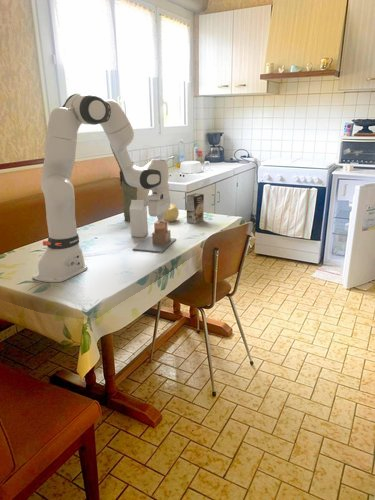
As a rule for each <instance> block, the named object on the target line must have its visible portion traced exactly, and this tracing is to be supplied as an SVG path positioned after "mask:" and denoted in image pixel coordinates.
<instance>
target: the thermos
mask: <svg viewBox="0 0 375 500" xmlns="http://www.w3.org/2000/svg"><path fill="white" fill-rule="evenodd" d="M132 163H133V164H134V165H135V162H134V161H132ZM119 178H120V179H119V180H120V187H121V190H122V193H123V206H124V208H123V217H124V221H125V222H130V205H131V200H138V195H137V193H138V188H136V187H128V186H126V185H125V184H124V182H123V180H122V175H121V170H120V169H119Z"/></svg>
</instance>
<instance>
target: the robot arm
mask: <svg viewBox="0 0 375 500" xmlns="http://www.w3.org/2000/svg"><path fill="white" fill-rule="evenodd" d="M81 125H100V126H101V128H102V129H103V131H104V133H105V135H106V137H107V139H108V141H109V145H110V149H111V151H112V154H113V156H114V159H115V161H116V163H117V164H118V165H117V166H118V167H119V171H120V170H121V175H122V180H123V182H124V184H125V185H126V186H128V187H136V188H137V189H143V190H149V192H148V194H147V195H146V200H147V201H148V202H147V211H148V215H149V217H153V218H156V217H157V221H158V222H161V221H163V217H164V211H166V210H167V209H169V208H170V204H171V196H170V191H169V190H170V189H169V176H170V175H169V166H168V162H167V161H166V160H165V159H160V158H151V159H150V160H149V162H148V163H147V164H145V165H144V166H141V167H140V166H137V165H135V163H134V162H133V161H132V159H131V156H130V155H129V152H128V149H127V147H129V145H130V144H131V143H132V141H133V140H134V137H135V134H134V133H135V132H134V129H133V126H132V124H131V123H130V121H129V118H128V117H127V115H126V113H125V111H124V110H123V108H122V107H121V106H120V105H119V103H118V102H117V101H116V100H114V99H105V100H104V99H103V98H102V97H101V96H99V95H97V94H93V93H92V94H91V93H90V94H89V93H86V92H83V93H74V94H71V95H70V96H68V98H67V99H66V100H65V102H64V104H63V105H62V106H58V107H55V108H53V109H52V110H51V112H50V115H49V119H48V123H47V127H46V137H45V148H44V149H45V151H44V159H43V166H42V172H41V180H40V188H41V191H42V193H43V197H44V203H45V204H44V205H45V213H46V216H45V218H46V225H47V231H48V237H47V240H43V241H42V246H44V247H45V246H46V247H47V248H46V249H45V251H44V253H43V255H42V256H41V258H40V259H39V261H38V265H37V269H38V270H37V272H35V273H34V274H33V275H32V278H33V279H34V280H35V281H39V282H45V283H46V282H47V283H60V282H64V281H66V280H68V279H70V278H73V277H74V276H76V275H78V274H80V273H82V272H84V271H86V270H88V266H87V265H86V263H85V258H84V254H83V250H82V248H81V246H80V244H79V243H80V236H79V233H78V229H77V221H76V200H75V199H76V198H75V197H76V195H75V188H74V185H73V183H72V181H71V177H72V172H73V169H74V165H75V161H76V152H77V143H78V132H79V129H80V127H81ZM132 162H133V163H134V164H133V163H132Z"/></svg>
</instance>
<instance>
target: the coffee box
mask: <svg viewBox="0 0 375 500" xmlns="http://www.w3.org/2000/svg"><path fill="white" fill-rule="evenodd" d="M204 196H205V195H204V193H203V194H202V193H192V194H189V195H186V223H189V224H190V223H191V224H194V225H195V224H198V223H201V222H203V221H204V214H205V212H204V211H205V209H204V208H205V207H204V206H205V205H204V200H205V199H204V198H205V197H204Z"/></svg>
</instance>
